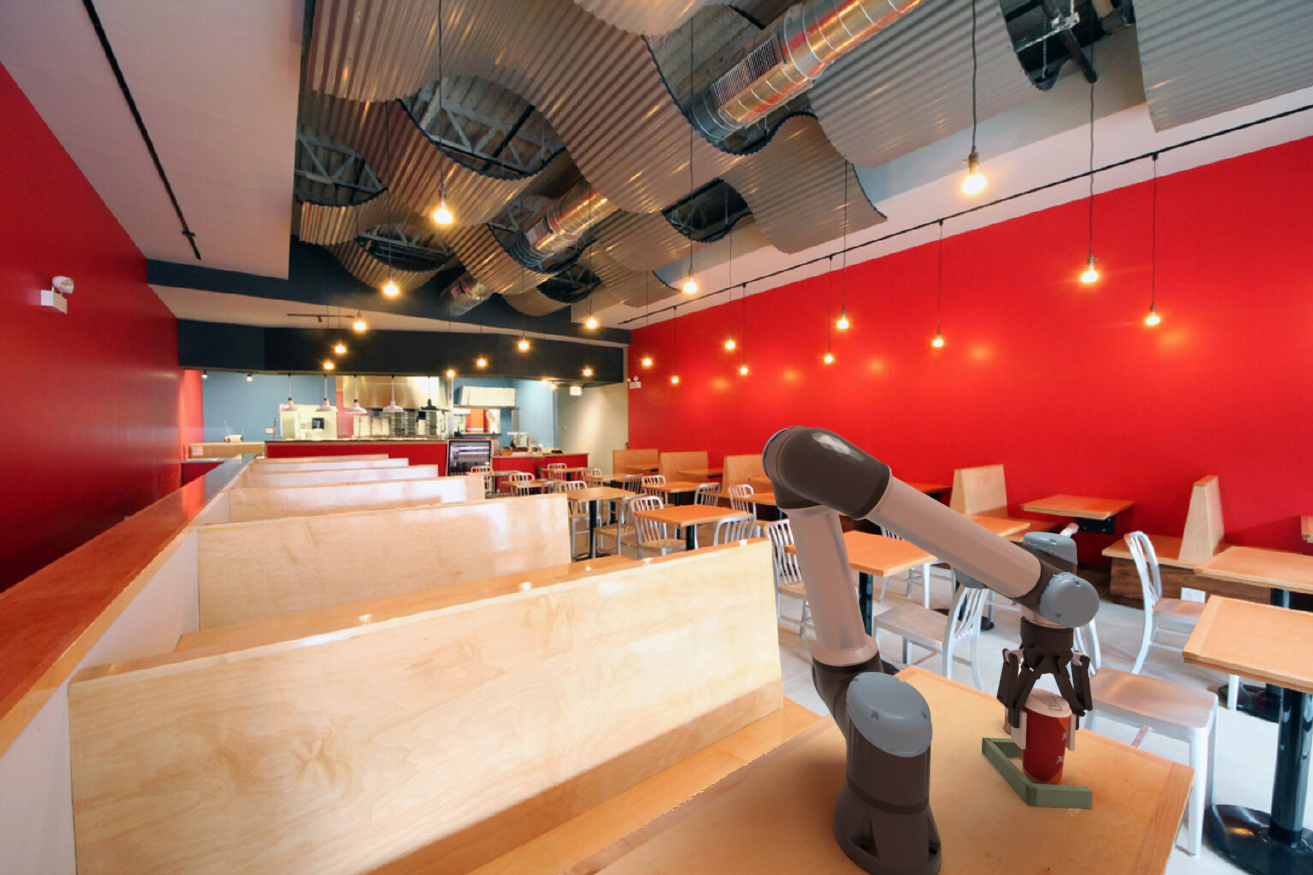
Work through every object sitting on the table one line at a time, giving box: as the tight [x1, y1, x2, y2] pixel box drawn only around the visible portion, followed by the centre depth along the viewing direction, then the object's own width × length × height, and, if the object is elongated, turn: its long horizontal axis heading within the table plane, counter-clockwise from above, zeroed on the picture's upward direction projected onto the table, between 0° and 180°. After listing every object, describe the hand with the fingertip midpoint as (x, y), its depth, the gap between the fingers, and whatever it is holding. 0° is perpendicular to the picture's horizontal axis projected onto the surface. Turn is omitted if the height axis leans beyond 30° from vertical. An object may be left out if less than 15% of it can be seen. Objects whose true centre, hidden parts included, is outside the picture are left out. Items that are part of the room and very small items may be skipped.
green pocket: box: [981, 736, 1093, 810], centre depth 90 cm, size 10×13×3 cm
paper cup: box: [1021, 687, 1072, 785], centre depth 89 cm, size 8×8×14 cm
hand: (1042, 744), depth 89 cm, fingers closed on paper cup, 8 cm apart
